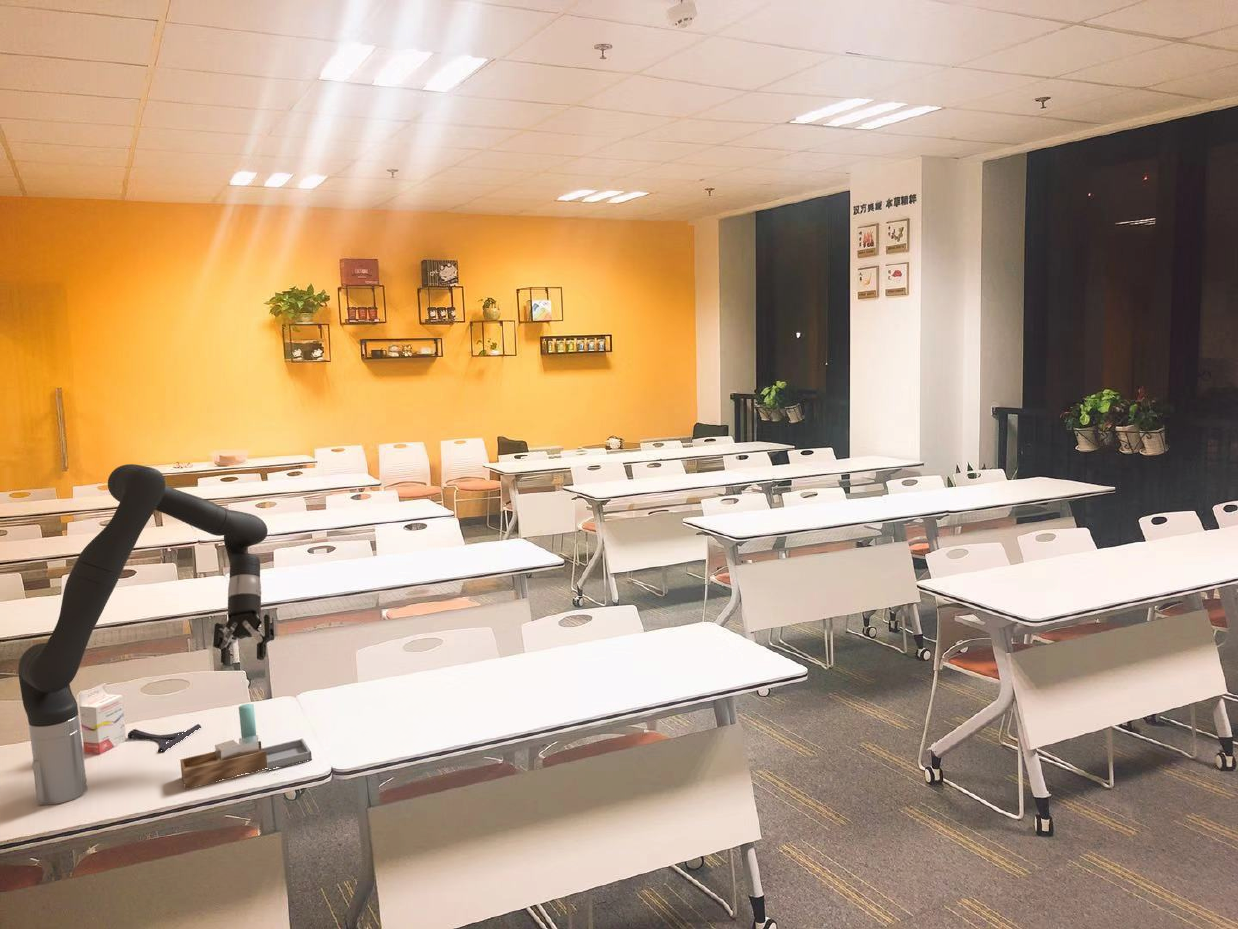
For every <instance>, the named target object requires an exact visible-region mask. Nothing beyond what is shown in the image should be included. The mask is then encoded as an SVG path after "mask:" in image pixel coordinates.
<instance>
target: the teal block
mask: <svg viewBox="0 0 1238 929" xmlns="http://www.w3.org/2000/svg"><path fill="white" fill-rule="evenodd" d="M238 714H239V724H240V733H241V738H245V737H250V736H256V735H257V730H256V729H257V727H256V726H257V725H256V716H255V707H254V704H253V703H246V704H242V705H240V706H239V707H238Z"/></svg>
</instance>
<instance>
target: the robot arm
mask: <svg viewBox="0 0 1238 929" xmlns="http://www.w3.org/2000/svg"><path fill="white" fill-rule="evenodd" d="M107 488H108V492H109V493H110V495H111V496H112V497H113V498H114V499H115V500H116V501H117V502H119V504H118V505H117V508H116V509H115V512H114V514H113V516H112V518H111V519H110V520H109V522H108V523H107V525H106V526H105V527H103V529H102V530H101V531H100V532H99V533H98V534H97V535H96V536H95V537H94V538H93V539H92V540H90V542H89V543H88V544H86V546H85V547H84V548H83V550H82V551H81V552H80V554H79V556H78V557H77V559H76V561H75V563H74V564H73V567H72V569H71V571H70V572H69V575H68V577H67V580H66V582H65V586H64V589H63V595H62V600H61V605H60V612H59V616H58V620H57V623H56V624H55V627H54V629H53V631H52V633H51V635H50V637H49V638H48V640H47V642H40V643H37V644H35V645H32V646H31V647H29V648H28V649H26V650H25V651H24V653H23V654H22V655H21V657H20V659H19V662H18V670H17V671H18V680H19V688H20V693H21V699H22V704H23V708H24V711H25V713H26V716H27V720H28V729H29V738H30V745H31V753H32V769H33V778H34V785H35V794H36V801H37V806H42V805H55V804H57V805H58V804H61V803H66V802H69V801H73V800H75V799H77V798H79V797H81V796H82V795H83V794H85V793H86V792H87V791H88V783H87V782H88V781H87V780H88V779H87V774H86V767H85V765H86V764H85V757H84V747H83V739H82V730H81V725H80V724H81V722H80V717H79V715H80V714H79V707H78V701H77V700H76V698H75V696H74V695H73V692H72V689H71V685H70V684H71V683H72V681H73V680H74V679H75V677H76V675H77V673H78V671H79V668H80V666H81V663H82V660H83V657H84V655H85V651H86V649H87V646H88V643H89V641H90V638H91V636H92V633H93V631H94V629H95V627H96V625H97V623H98V622H99V620H100V618H101V615H102V614H103V611H104V609H105V607H106V605H107V603H108V601H109V599H110V597H111V595H112V593H113V591H114V590H115V588H116V585H117V583H118V582H119V579H120V578H121V575H122V573H123V570H124V568H125V566H126V564H127V563H128V560H129V558H130V556H131V553H132V552H133V549H134V548H135V546H136V544H137V542H138V540H139V538H140V536H141V534H142V532H143V530H144V529H145V527H146V525H147V524H148V522H149V520H150V518H151V517H152V516H153V514H154V512H155V511H157V512H160V513H162V514H165V515H167V516H169V517H172V518H174V519H176V520H179V521H181V522H182V523H185V524H187V525H189V526H191V527H194V528H196V529H197V530H201V531H203V532H205V533H208V534H210V535H213V536H216V537H218V536H219V537H221V536H223V542H224V547H225V550H226V555H227V559H228V562H229V581H228V588H227V589H228V590H227V621H226V622H225V623H219V622H216V623H214V631H213V643H212V644H213V645H212V647H213V648H215V649H218V650H220V663H221V664H222V665H223V666H225V667H229V666H230V665H231V650H230V649H231V648H232V647H233V646H234V644H235V643H237V641H238V640H243V639H245V638H252V637H254V639H255V640H256V641H257V642H258V643H256V659H257V660H259V661H265V660H264V659H265V658H266V657H267V644H268V643H269V642H272V641H274V640H275V624H274V623H275V622H274V617H273V616H272V615H269V614H267V613H266V614H264V616H261V613H262V584H261V559H260V557H259V556H258V555H256V554H255V553H249V547H253V546H255V545H258V544H260V543H262V542H263V541H264V540H265V539H266V538H267V535H268V526H267V524H266V523H265V521H264V520H263V519H261V518H260V517H258V516H257V515H255V514H252V513H248V512H242V511H239V510H232V509H227V508H226V507H223V506H221V505H219V504H216V503H215V502H213V501H209V500H207V499H205V498H202V497H199V496H196V495H194V494H190V493H188V492H184V491H181V490H179V489H176V488H174V487H171V486H169V485H167V484H166V479H165V477H164V475H163V473H162V472H161V471H160V470H158V469H156V468H154V467H149V466H146V465H145V466H144V465H139V464H133V463H131V464H130V463H129V464H123V465H120V466H117V467H116V468H115V469H114V470H112V471H111V473H110V475H108V478H107ZM261 624H262V625H263V627H264V628H263V629H264V634H263V632H261V630H260V629H259V628H260V626H261ZM227 630H228V632H227ZM226 632H227V633H226ZM225 633H226V635H225Z"/></svg>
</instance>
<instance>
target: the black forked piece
mask: <svg viewBox="0 0 1238 929" xmlns="http://www.w3.org/2000/svg"><path fill="white" fill-rule="evenodd" d="M199 728H201V729H202V726H201V725H200V724H199V723H198V724H195V725H194V726H193V727H190V728H189V729H186V730H187V731H186V732H184V731H185V730H183V732H182V731H179V732H175V733H174V732H172V733H169V734H154V733H148V732H145V731H142V730H139V729H137V728H135V729H132V730H130V731H129V732H128V733H127V739H128V740H145V739H150V741H153V742H156V743H157V744H159V748H158V753H161V752H162V753H166V752H167V751H168V750H167V749H168V748H170V749H171V747H172V746H173V745H175V744H176V743H178V742H179V743H181V742H182V741H184V740H185V739H186V738H185V737H186V736H189V735H190V734H191V733H193V732H194V731H195V730H198V729H199ZM199 730H200V729H199ZM199 730H198V731H199ZM182 733H183V734H182ZM178 734H179V735H178ZM193 734H194V733H193ZM190 736H191V735H190ZM190 736H189V737H190ZM132 738H133V739H132ZM184 738H185V739H184ZM183 739H184V740H183ZM168 740H169V741H168ZM170 740H172V741H170ZM181 740H182V741H181ZM167 741H168V742H169V743H167V744H166V742H167ZM180 741H181V742H180ZM179 743H178V744H179ZM176 745H177V744H176ZM176 745H175V746H176ZM173 747H174V746H173ZM173 747H172V748H173ZM161 750H162V751H161ZM166 750H167V751H166ZM160 751H161V752H160ZM165 751H166V752H165Z"/></svg>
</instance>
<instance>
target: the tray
mask: <svg viewBox="0 0 1238 929" xmlns="http://www.w3.org/2000/svg"><path fill="white" fill-rule="evenodd" d="M261 748H262V751H266V757H267V767H268V769H267V771H268V770H269V769H273V768H276V767H282V768H284V767H285V766H286V767H289V765H290V766H293V765H292V764H294V765H297V764H296V763H298V764H300V763H299V762H302V763H304V762H303V761H306V762H308V761H307V760H310V761H312V760H313V758H312V751H311V749H310V747H309V746H308V744H307V743H306V741H305V740H304V739H303V738H300V739H296V740H295V739H294V740H291V741H288V742H282V743H277V744H275V745H274V744H273V745H270V746H264V747H261ZM286 767H285V768H286Z"/></svg>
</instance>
